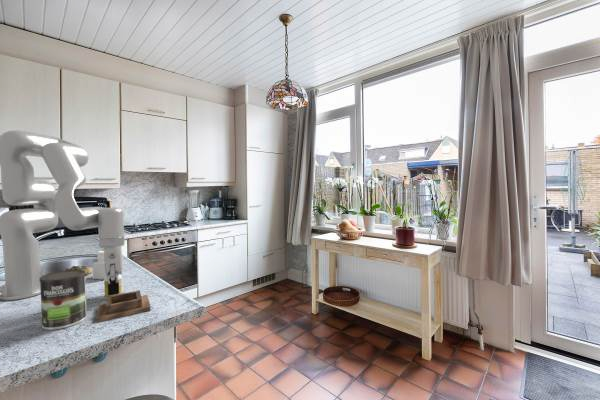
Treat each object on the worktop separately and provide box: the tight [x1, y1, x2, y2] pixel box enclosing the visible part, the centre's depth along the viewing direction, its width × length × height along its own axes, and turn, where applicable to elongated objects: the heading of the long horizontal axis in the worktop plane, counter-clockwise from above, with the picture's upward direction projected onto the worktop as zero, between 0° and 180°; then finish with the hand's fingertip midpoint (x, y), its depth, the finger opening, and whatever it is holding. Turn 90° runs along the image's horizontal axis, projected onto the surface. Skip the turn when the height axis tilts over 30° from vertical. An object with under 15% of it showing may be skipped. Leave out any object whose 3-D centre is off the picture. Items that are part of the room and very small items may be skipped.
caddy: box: [96, 290, 152, 323], centre depth 91 cm, size 14×12×4 cm
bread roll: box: [64, 265, 93, 276], centre depth 127 cm, size 11×11×5 cm
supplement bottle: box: [103, 271, 124, 300], centre depth 100 cm, size 5×5×10 cm
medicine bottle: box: [91, 249, 121, 281], centre depth 123 cm, size 7×7×12 cm
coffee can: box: [39, 269, 88, 331], centre depth 82 cm, size 10×10×14 cm
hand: (113, 290), depth 101 cm, fingers open, 7 cm apart
